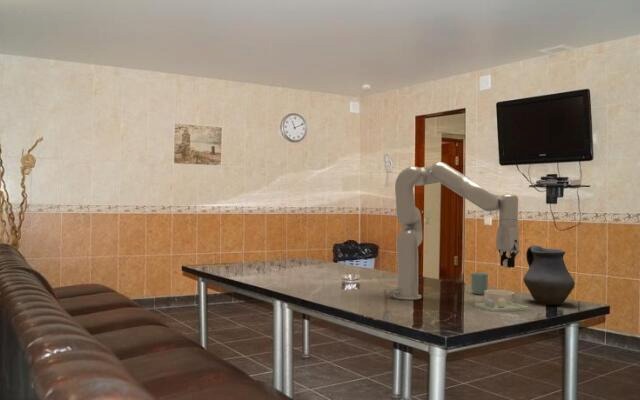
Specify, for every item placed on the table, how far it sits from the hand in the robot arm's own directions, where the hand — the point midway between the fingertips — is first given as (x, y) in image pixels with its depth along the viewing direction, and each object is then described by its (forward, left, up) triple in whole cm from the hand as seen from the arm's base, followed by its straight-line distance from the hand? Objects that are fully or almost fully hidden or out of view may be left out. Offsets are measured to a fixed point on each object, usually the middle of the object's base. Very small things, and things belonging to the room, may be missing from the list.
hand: (507, 266), depth 228 cm
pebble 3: (0, 0, -1) cm, 1 cm away
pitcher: (+21, 0, -17) cm, 27 cm away
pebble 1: (-12, -5, -16) cm, 21 cm away
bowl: (+2, +8, -17) cm, 19 cm away
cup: (+7, +29, -17) cm, 34 cm away
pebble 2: (-7, -5, -16) cm, 19 cm away
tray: (-7, -5, -17) cm, 19 cm away
